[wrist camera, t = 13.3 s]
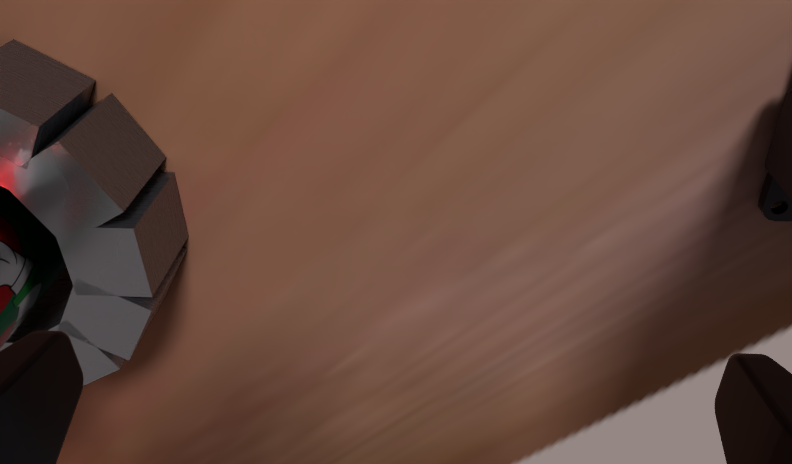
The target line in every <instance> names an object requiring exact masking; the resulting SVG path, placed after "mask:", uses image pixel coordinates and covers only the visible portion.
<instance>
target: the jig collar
mask: <svg viewBox="0 0 792 464" xmlns="http://www.w3.org/2000/svg"><path fill="white" fill-rule="evenodd" d="M95 81H96V80H94V79H92V78H90V77H88V76H86V75H84V74H82V73H80V72H78V71H76V70H74V69H72V68H70V67H68V66H66V65H64V64H62V63H60V62H58V61H56V60H54V59H52V58H50V57H48V56H46V55H44V54H42V53H40V52H38V51H36V50H34V49H32V48H30V47H28V46H26V45H24V44H22V43H20V42H18V41H16V40H14V39H13V40H12V41H10V42H8V43H6V44H5V45H3V46H1V47H0V186H2V187H4V188H6V189H8V190H9V191H10V192H11V193H12V194H13V195H14V196H15V197H16V198H17V199H18V200H19V201H20V202H21V203H22V204H23V205H24V206H25V207H26V208H27V209H28V210H29V211H30V212H31V213H32V214H33V215H34V216H35V217H36V218H37V219H38V220H39V221H40V222H41V223H42V224H43V225H44V226H46V227H47V228H48V229H49V230H50V231H51V232H52V233H53V234H54V235H55V236H56V239H57V241H58V244H59V247H60V250H61V253H62V255H63V258H64V261H65V264H66V267H67V270H68V272H69V275H70V278H71V281H62V280H56V281H55V282H54V283H53V284H52V286H51V287H50V288H49V289H48V291H47V292H46V293H45V294H44V296H43V297H42V298H41V299H40V301H39V302H38V303H37V304H36V306H35V307H34V308H33V309H32V310H31V312H30V313H29V314H28V315H27V317H26V318H25V319H24V320H23V322H22V323H21V324H20V325H19V327H18V328H17V329H16V330H15V332H14V333H13V334H12V335H11V337H10V338H9V339H8V340H7V341H6V343H5V344H4V345H3V346H2V348H1V349H0V351H1V350H3V349H4V348H6V347H8V346H9V345H11V344H13V343H14V342H16V341H18V340H19V339H21V338H23V337H24V336H26V335H28V334H29V333H31V332H33V331H39V330H46V331H62V332H65V333H66V334H67V335H68V336H69V338H70V340H71V343H72V345H73V348H74V351H75V353H76V356H77V358H78V361H79V364H80V366H81V369H82V372H83V378H84V381H83V386H84V385H86V384H89V383H91V382H93V381H95V380H97V379H100V378H102V377H104V376H106V375H108V374H110V373H113V372H115V371H117V370H119V369H120V368H121V367H122V365H123V363H124V361H125V360H130V358H131V356H132V354H133V353H134V351H135V349H136V347H137V346H138V344H139V342H140V340H141V339H142V337H143V335H144V333H145V332H146V330H147V328H148V326H149V324H150V323H151V321H152V319H153V317H154V316H155V314H156V312H157V310H158V309H159V307H160V305H161V303H162V302H163V300H164V298H165V296H166V294H167V292H168V290H169V288H170V285H171V283H172V281H173V279H174V277H175V275H176V273H177V270H178V268H179V266H180V264H181V262H182V260H183V257H184V255H185V253H186V251H187V249H186V248H184V247H182V246H183V245H184V243H185V241H186V240H187V238H188V232H187V228H186V223H185V219H184V214H183V210H182V205H181V201H180V197H179V192H178V188H177V183H176V179H175V174H174V172H155V171H156V170H157V168H158V167H159V166H160V165H161V163H162V162H163V161H164V159H165V158H166V157H165V155H164V154H163V153H162V152H161V151H160V149H159V148H158V147H157V146H156V145H155V144H154V142H153V141H152V140H151V139H150V138H149V136H148V135H147V134H146V133H145V132H144V131H143V129H142V128H141V127H140V126H139V125H138V124H137V122H136V121H135V120H134V119H133V118H132V116H131V115H130V114H129V113H128V112H127V111H126V109H125V108H124V107H123V106H122V105H121V103H120V102H119V101H118V100H117V99H116V98H115V96H114V95H113V94H112V93H111V94H110V95H108V96H107V97H105V98H104V99H102V100H101V101H99V102H98V103H96V104H95V105H93V106H92V107H90V108H89V109H87V107H88V103H89V100H90V97H91V94H92V91H93V87H94V84H95Z"/></svg>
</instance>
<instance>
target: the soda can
mask: <svg viewBox="0 0 792 464" xmlns="http://www.w3.org/2000/svg"><path fill="white" fill-rule="evenodd" d="M65 268H66V264H65V261H64V258H63V255H62V253H61V250H60V247H59V244H58V241H57V239H56V236H55V235H54V234H53V233H52V232H51V231H50V230H49V229H48V228H47V227H46V226H44V225H43V224H42V223H41V222H40V221H39V220H38V219H37V218H36V217H35V216H34V215H33V214H32V213H31V212H30V211H29V210H28V209H27V208H26V207H25V206H24V205H23V204H22V203H21V202H20V201H19V200H18V199H17V198H16V197H15V196H14V195H13V194H12V193H11V192H10V191H9V190H8V189H6V188H4V187H2V186H0V349H1V348H2V346H3V345H4V344H5V343H6V341H7V340H8V339H9V338H10V337H11V335H12V334H13V333H14V332H15V330H16V329H17V328H18V327H19V325H20V324H21V323H22V322H23V320H24V319H25V318H26V317H27V315H28V314H29V313H30V312H31V310H32V309H33V308H34V307H35V306H36V304H37V303H38V302H39V301H40V299H41V298H42V297H43V296H44V294H45V293H46V292H47V291H48V289H49V288H50V287H51V286H52V284H53V283H54V282H55V281H56V280H57V278H58V277H59V276H60V275H61V273H62V272H63V271H64V270H65Z"/></svg>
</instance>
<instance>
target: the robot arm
mask: <svg viewBox="0 0 792 464" xmlns="http://www.w3.org/2000/svg"><path fill="white" fill-rule="evenodd" d="M765 168H766V170H767V171H768V172H767V176H766V179H765V182H764V185H763V188H762V191H761V194H760V198H759V201H758V207H759V209H760V211H761V212H762V213H763V215H764V216H765V217H766V218H767V219H769V220H773V221H792V89H791V90H790V91H789V92H787V94H786V97H785V101H784V104H783V107H782V110H781V113H780V117H779V120H778V123H777V126H776V129H775V132H774V136H773V139H772V142H771V145H770V148H769V152H768V155H767V158H766V161H765ZM777 201H783V202H782V203H781V205H779V206H778V207H775V208H771V207H772V205H773V204H774V203H776V202H777ZM83 381H84V378H83V372H82V369H81V366H80V364H79V361H78V358H77V356H76V353H75V351H74V348H73V345H72V343H71V340H70V338H69V336H68V335H67V334H66V333H65V332H62V331H46V330H39V331H33V332H31V333H29V334H28V335H26V336H24V337H23V338H21V339H19V340H18V341H16V342H14V343H13V344H11V345H9V346H8V347H6V348H4V349H3V350H1V351H0V464H56V462H57V459H58V456H59V454H60V451H61V448H62V445H63V442H64V440H65V437H66V434H67V431H68V428H69V426H70V423H71V420H72V417H73V414H74V412H75V409H76V406H77V403H78V400H79V398H80V395H81V392H82V389H83ZM715 414H716V419H717V423H718V428H719V432H720V436H721V441H722V445H723V449H724V454H725V457H726V461H727V464H792V374H791V373H790V372H788V371H787V370H786V369H785V368H783V367H782V366H780V365H779V364H778V363H777V362H775V361H774V360H773V359H771V358H769V357H768V356H766V355H762V354H740V353H738V354H734V355H732V356H731V357H730V358H729V360H728V362H727V365H726V368H725V371H724V374H723V377H722V380H721V383H720V386H719V389H718V391H717V395H716V398H715Z"/></svg>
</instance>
